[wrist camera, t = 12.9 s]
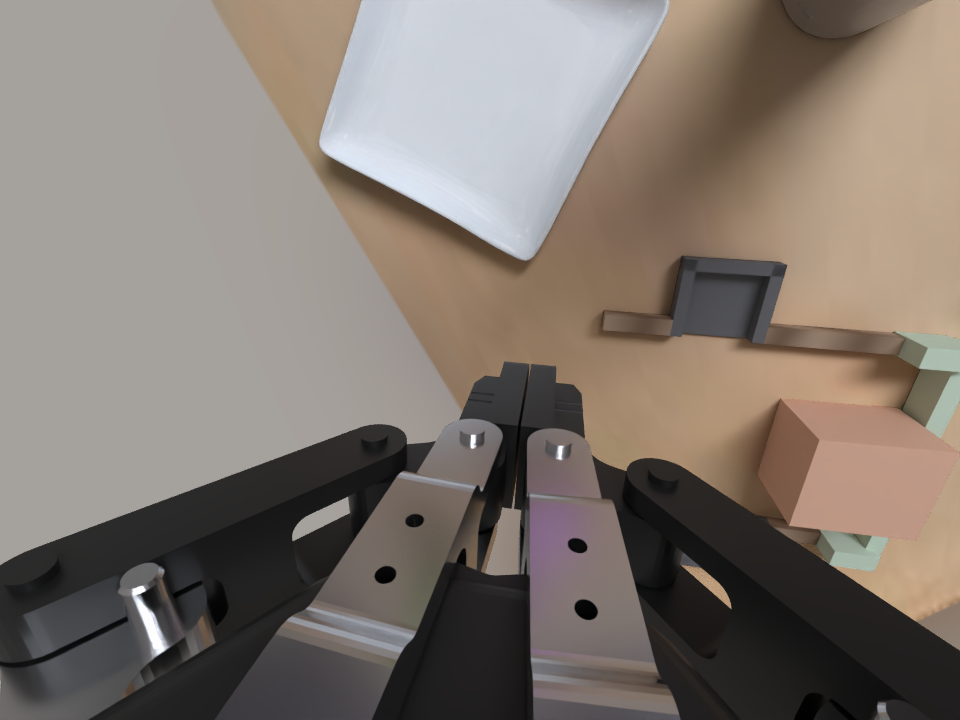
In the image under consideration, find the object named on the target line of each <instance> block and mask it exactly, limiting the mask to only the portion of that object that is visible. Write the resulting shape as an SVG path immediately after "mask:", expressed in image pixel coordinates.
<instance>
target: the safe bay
mask: <svg viewBox="0 0 960 720" xmlns="http://www.w3.org/2000/svg"><path fill="white" fill-rule="evenodd" d="M894 333H895V334H897V335H899V336H901V337H903V338H905V342H904V344H903V346H902V349H901V351H900V353H899V355H895V356H897V357H899V358H901V359H903V360H904V361H906V362H908V363H910V364H911V365H913V366H915V367H917V368H919V369H921V370H920V372H919V374H918V376H917V379H916V381H915V383H914V385H913V387H912V390H911V392H910V394H909V396H908V398H907V400H906V403H905V405H904V407H903V409H902V411H903V412H904V413H905V414H907V415H908V416H910V417H911V418H912V419H914V420H915V421H917V422H918V423H919V424H921V425H922V426H924V427H925V428H926V429H928V430H929V431H931V432H932V433H933V434H935V435H936V436H938V437H939V438H941V436H942V434H943V432H944V430H945V428H946V426H947V424H948V422H949V420H950V419H951V417H952V415H953V413H954V411H955V409H956V407H957V405H958V403H959V401H960V340H959V339H957V338H951V337H949V336H947V335H934V334H921V333H909V332H896V331H895V332H894ZM818 530H819V531H820V533H821V536H820V538H819V541H818V543H817V545H816V546H817V548H818V549H819V551H820V552H821V554H822V555H823V557H824V558H825V560H826V561H827V563H828V564H830V565H832V566H839V567H846V568H852V569H859V570H866V571H873V572H874V570H875V568H876V566H877V564H878V562H879V560H880V555H881V553H882V551H883V549H884V547H885V546H886V544H887V542H888V540H889V538H886V537H878V536H869V535H861V534H853V533H845V532H836V531H828V530H820V529H818Z"/></svg>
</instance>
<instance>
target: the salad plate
mask: <svg viewBox="0 0 960 720" xmlns="http://www.w3.org/2000/svg"><path fill="white" fill-rule="evenodd" d="M668 8H669V0H361V4H360V7H359V11H358V14H357V17H356V21H355V24H354V27H353V31H352V34H351V37H350V40H349V43H348V47H347V51H346V54H345V57H344V60H343V63H342V66H341V69H340V73H339V76H338V79H337V82H336V85H335V88H334V91H333V95H332V98H331V101H330V104H329V107H328V110H327V114H326V117H325V120H324V124H323V127H322V131H321V134H320V139H319V146H320V149H321V150H322V151H323V153H324V154H326V155H327V156H329V157H330V158H332V159H334V160H336V161H337V162H339V163H341V164H343V165H345V166H347V167H349V168H351V169H353V170H355V171H357V172H359V173H361V174H363V175H365V176H367V177H369V178H371V179H373V180H375V181H377V182H379V183H381V184H383V185H385V186H387V187H388V188H390V189H392V190H394V191H396V192H398V193H400V194H402V195H404V196H406V197H408V198H410V199H412V200H414V201H415V202H417V203H419V204H421V205H423V206H425V207H427V208H429V209H431V210H432V211H434V212H436V213H438V214H440V215H442V216H443V217H445V218H447V219H449V220H451V221H452V222H454V223H456V224H457V225H459V226H461V227H462V228H464V229H466V230H467V231H469V232H470V233H472V234H474V235H475V236H477V237H479V238H480V239H482V240H484V241H485V242H487V243H489V244H490V245H492V246H494V247H496V248H497V249H499V250H501V251H503V252H505V253H507V254H509V255H511V256H513V257H515V258H517V259H520V260H524V261H528V260H530V259H531V258H532V257H534V256H535V254H536V253H537V252H538V250H539V249H540V247H541V245H542V243H543V242H544V240H545V238H546V236H547V235H548V233H549V231H550V229H551V227H552V225H553V223H554V221H555V219H556V217H557V215H558V214H559V212H560V210H561V207H562V205H563V203H564V201H565V200H566V198H567V196H568V194H569V192H570V190H571V188H572V186H573V184H574V182H575V180H576V178H577V176H578V174H579V172H580V170H581V168H582V166H583V164H584V162H585V160H586V158H587V157H588V155H589V153H590V151H591V149H592V147H593V145H594V144H595V142H596V140H597V138H598V136H599V135H600V133H601V131H602V129H603V127H604V126H605V124H606V122H607V120H608V119H609V117H610V115H611V113H612V112H613V110H614V108H615V106H616V104H617V103H618V101H619V99H620V97H621V96H622V94H623V92H624V91H625V89H626V87H627V85H628V84H629V82H630V80H631V79H632V77H633V75H634V73H635V72H636V70H637V68H638V67H639V65H640V63H641V62H642V60H643V58H644V56H645V55H646V53H647V51H648V50H649V48H650V46H651V44H652V43H653V41H654V39H655V37H656V35H657V33H658V32H659V30H660V28H661V26H662V24H663V22H664V20H665V17H666V15H667V12H668Z"/></svg>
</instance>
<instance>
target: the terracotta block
mask: <svg viewBox="0 0 960 720" xmlns="http://www.w3.org/2000/svg"><path fill="white" fill-rule="evenodd" d="M959 456H960V452H959V451H957V450H956V449H954V448H953V447H952V446H950V445H949V444H947V443H946V442H945V441H943V440H942V439H940V438H939V437H938V436H936V435H935V434H933V433H932V432H931V431H929V430H928V429H926V428H925V427H924V426H922V425H921V424H919V423H918V422H917V421H915V420H914V419H912V418H911V417H910V416H908V415H907V414H905V413H904V412H903V411H901V410H900V409H898V408H893V407H880V406H868V405H856V404H843V403H831V402H819V401H806V400H794V399H782V398H780V401H779V405H778V408H777V411H776V415H775V418H774V421H773V424H772V428H771V431H770V434H769V438H768V441H767V444H766V447H765V451H764V454H763V457H762V461H761V464H760V467H759V470H758V474H757V476H758V477H759V479H760V480H761V482H762V484H763V485H764V487H765V488H766V490H767V492H768V493H769V495H770V496H771V498H772V500H773V501H774V503H775V504H776V506H777V507H778V509H779V511H780V512H781V514H782V515H783V517H784V519H785V520H786V522H787V523H788V525H789V526H795V527H803V528H812V529H820V530H828V531H836V532H845V533H853V534H861V535H869V536H878V537H886V538H894V539H902V540H911V541H916V540H917V538H918V537H919V535H920V533H921V531H922V529H923V527H924V525H925V523H926V521H927V519H928V517H929V515H930V513H931V511H932V509H933V507H934V505H935V503H936V501H937V499H938V497H939V495H940V493H941V491H942V489H943V487H944V485H945V483H946V481H947V479H948V477H949V475H950V473H951V471H952V469H953V467H954V465H955V463H956V461H957V460H958V458H959Z"/></svg>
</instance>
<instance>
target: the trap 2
mask: <svg viewBox="0 0 960 720" xmlns="http://www.w3.org/2000/svg"><path fill="white" fill-rule="evenodd" d="M786 268H787V265H786V264H783V263H781V262H772V261H756V260H739V259H722V258H706V257H689V256H682V259H681V263H680V268H679V273H678V278H677V283H676V288H675V292H674V297H673V302H672V307H671V312H670V317H671V318H672V319H673V324H672V328H671V333H670V336H677V337H681V336H682V333H689V334H701V335H713V336H725V337H737V338H747V339H748V340H749V341H750V342H751V343H760V344H764V341H765V338H766V334H767V331H768V328H769V325H770V321H771V318H772V315H773V311H774V308H775V305H776V301H777V298H778V295H779V291H780V288H781V285H782V281H783V278H784V275H785V271H786Z"/></svg>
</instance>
